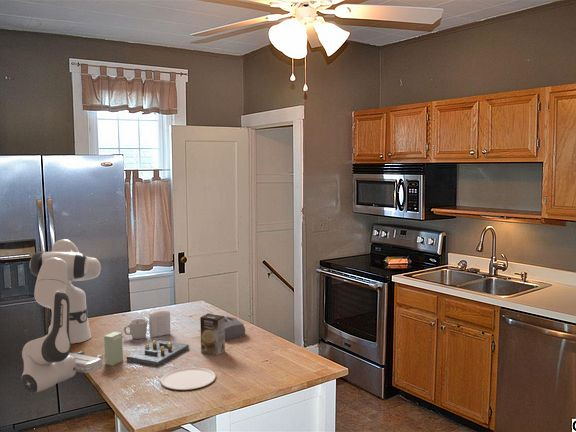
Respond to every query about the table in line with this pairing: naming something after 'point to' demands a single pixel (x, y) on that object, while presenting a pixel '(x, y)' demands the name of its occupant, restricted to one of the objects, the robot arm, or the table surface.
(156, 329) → the photo printer
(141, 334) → the cup
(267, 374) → the table surface
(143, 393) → the table surface
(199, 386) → the plate
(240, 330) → the soft grey pack
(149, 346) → the chassis
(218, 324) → the coffee box
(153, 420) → the table surface
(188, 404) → the table surface
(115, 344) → the block
